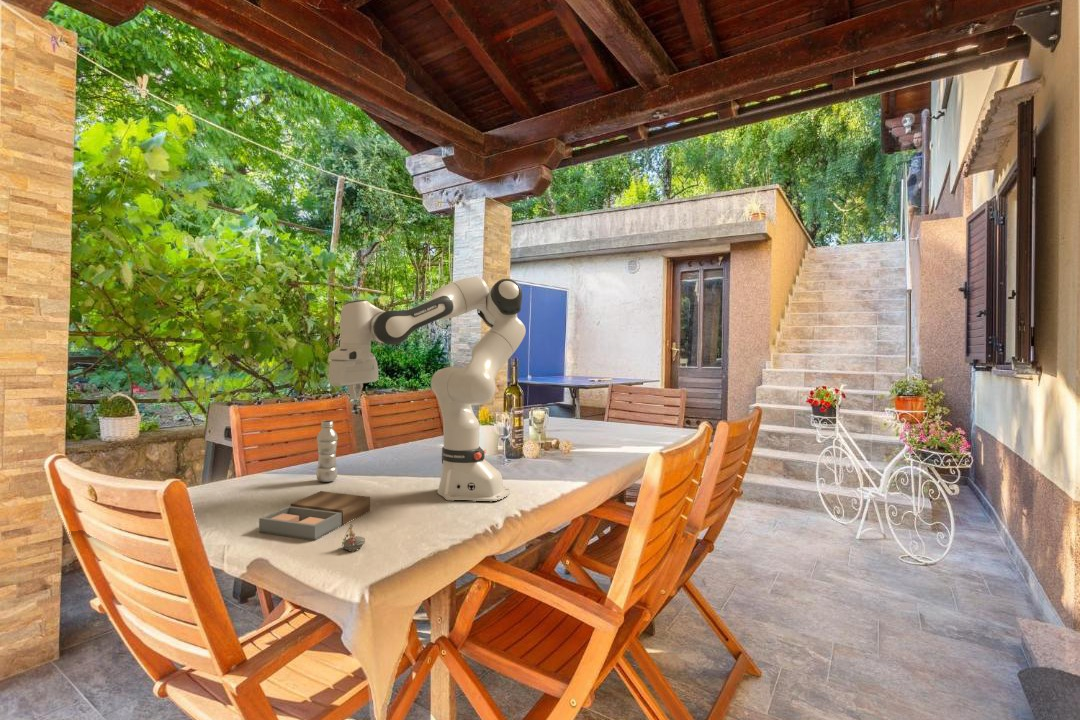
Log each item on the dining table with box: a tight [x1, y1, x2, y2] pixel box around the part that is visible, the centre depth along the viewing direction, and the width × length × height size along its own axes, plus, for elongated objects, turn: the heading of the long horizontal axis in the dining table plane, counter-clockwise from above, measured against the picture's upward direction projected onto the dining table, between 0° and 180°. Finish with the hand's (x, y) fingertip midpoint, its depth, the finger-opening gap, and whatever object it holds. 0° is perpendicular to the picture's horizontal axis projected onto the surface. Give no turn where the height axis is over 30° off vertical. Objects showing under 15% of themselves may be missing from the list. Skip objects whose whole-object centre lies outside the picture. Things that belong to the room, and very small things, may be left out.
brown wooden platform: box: [289, 490, 371, 526], centre depth 143 cm, size 16×12×4 cm
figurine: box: [341, 523, 366, 552], centre depth 121 cm, size 5×4×6 cm
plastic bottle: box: [315, 419, 339, 483], centre depth 175 cm, size 6×7×20 cm
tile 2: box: [299, 517, 325, 524], centre depth 130 cm, size 5×5×2 cm
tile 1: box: [270, 513, 299, 522], centre depth 132 cm, size 5×5×2 cm
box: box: [258, 505, 343, 541], centre depth 132 cm, size 16×10×4 cm, turn 74°
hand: (355, 398), depth 162 cm, fingers closed
